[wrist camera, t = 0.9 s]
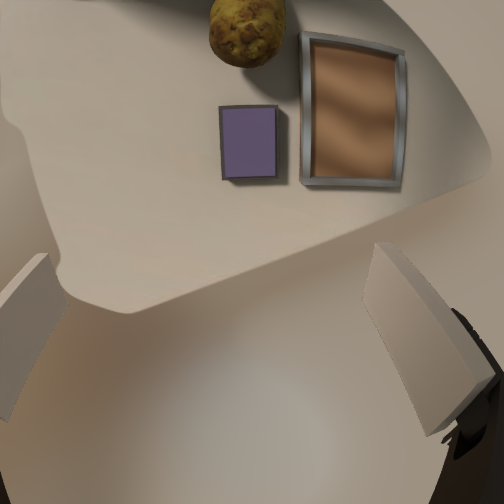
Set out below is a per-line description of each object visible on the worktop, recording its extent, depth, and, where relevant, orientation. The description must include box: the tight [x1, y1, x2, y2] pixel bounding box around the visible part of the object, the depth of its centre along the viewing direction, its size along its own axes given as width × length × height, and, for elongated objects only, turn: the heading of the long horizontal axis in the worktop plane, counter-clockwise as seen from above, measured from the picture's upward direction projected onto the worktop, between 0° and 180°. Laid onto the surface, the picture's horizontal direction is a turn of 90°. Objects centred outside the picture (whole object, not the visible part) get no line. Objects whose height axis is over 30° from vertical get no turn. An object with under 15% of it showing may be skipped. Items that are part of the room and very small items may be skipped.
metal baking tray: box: [298, 31, 406, 188], centre depth 26 cm, size 18×13×2 cm
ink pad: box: [219, 105, 279, 180], centre depth 28 cm, size 8×6×2 cm
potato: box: [209, 0, 286, 68], centre depth 19 cm, size 8×13×8 cm, turn 154°
